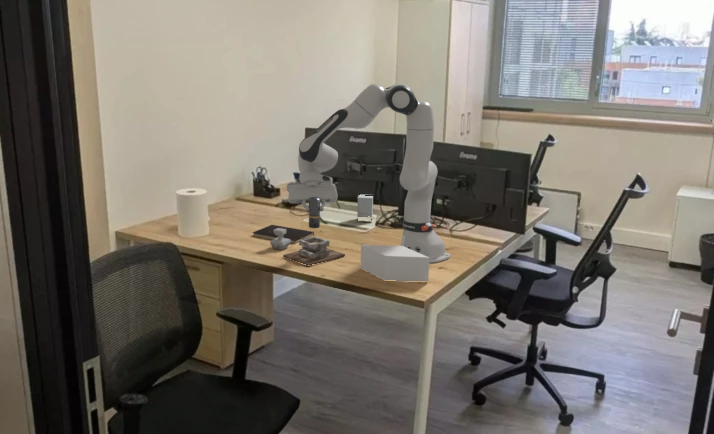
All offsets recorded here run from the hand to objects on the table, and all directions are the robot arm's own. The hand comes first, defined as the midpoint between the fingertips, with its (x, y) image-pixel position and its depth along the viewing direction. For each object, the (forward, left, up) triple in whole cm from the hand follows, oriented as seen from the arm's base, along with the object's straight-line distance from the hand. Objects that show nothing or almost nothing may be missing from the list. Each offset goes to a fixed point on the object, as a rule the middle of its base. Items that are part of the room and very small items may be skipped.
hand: (314, 210), depth 268 cm
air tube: (+1, 0, -7) cm, 7 cm away
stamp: (+19, +3, -20) cm, 28 cm away
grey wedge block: (-37, -8, -20) cm, 43 cm away
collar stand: (0, 0, -20) cm, 20 cm away
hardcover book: (+33, -10, -21) cm, 40 cm away
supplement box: (+27, -57, -20) cm, 66 cm away
